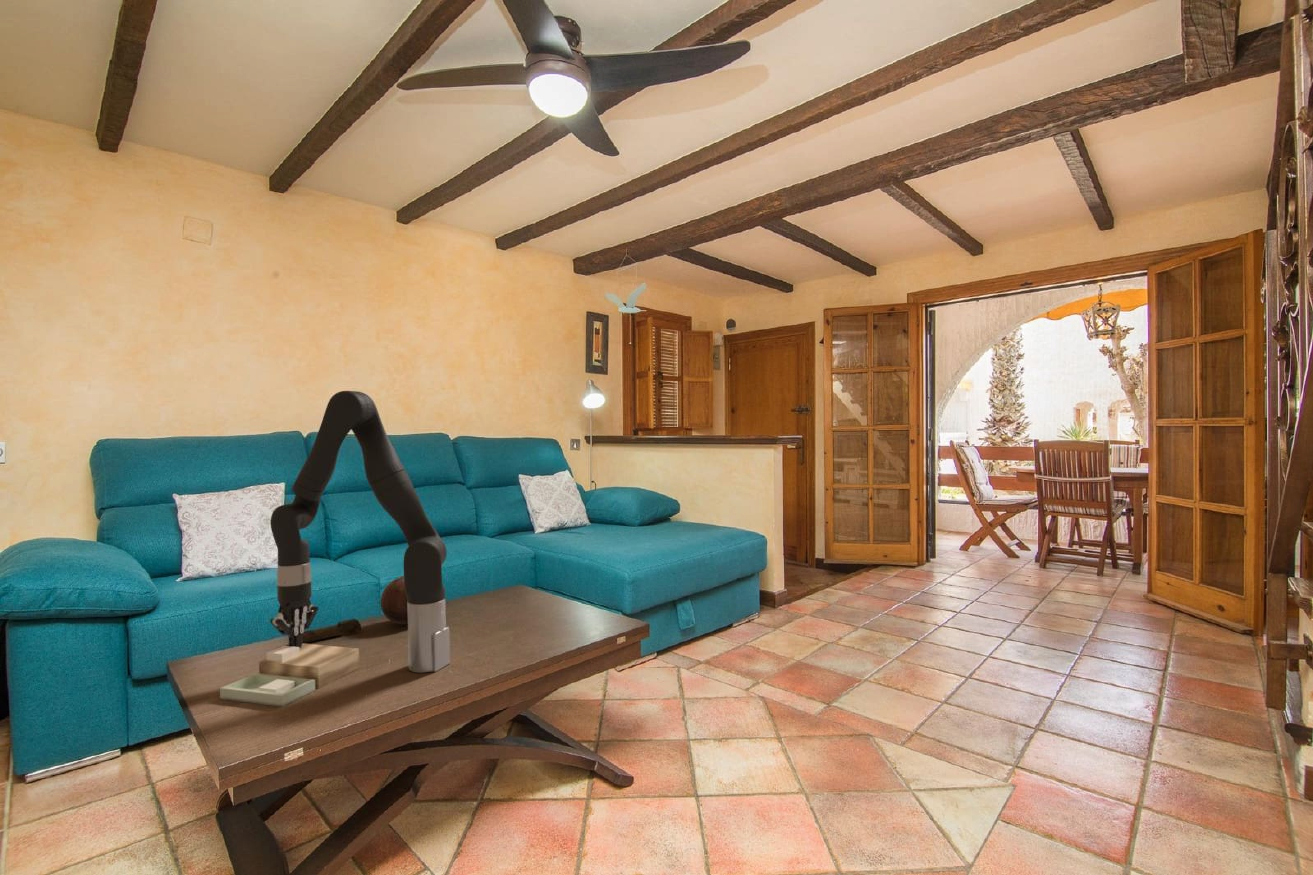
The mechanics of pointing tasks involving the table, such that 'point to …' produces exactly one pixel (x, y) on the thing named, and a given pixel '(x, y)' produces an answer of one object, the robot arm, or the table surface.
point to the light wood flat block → (315, 664)
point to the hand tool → (332, 631)
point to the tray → (250, 692)
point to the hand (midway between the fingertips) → (295, 648)
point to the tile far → (282, 653)
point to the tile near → (278, 686)
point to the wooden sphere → (395, 602)
